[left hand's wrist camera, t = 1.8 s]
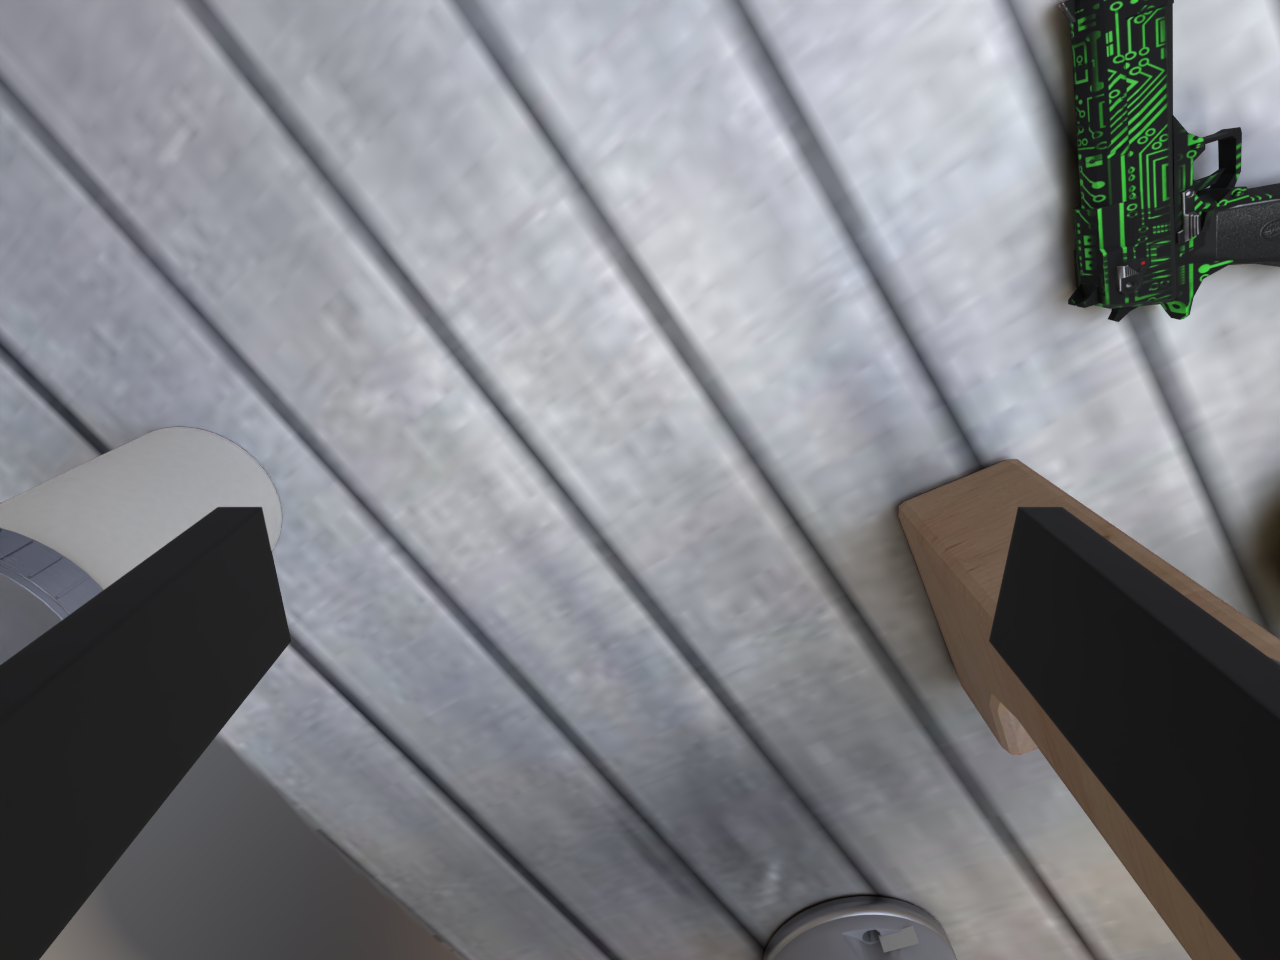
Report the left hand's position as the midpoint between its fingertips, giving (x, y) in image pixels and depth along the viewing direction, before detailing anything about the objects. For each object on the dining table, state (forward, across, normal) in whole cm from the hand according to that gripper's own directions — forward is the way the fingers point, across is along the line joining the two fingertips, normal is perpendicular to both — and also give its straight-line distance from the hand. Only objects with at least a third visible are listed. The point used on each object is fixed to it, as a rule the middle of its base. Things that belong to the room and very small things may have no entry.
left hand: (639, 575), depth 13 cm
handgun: (+28, +28, +8) cm, 40 cm away
